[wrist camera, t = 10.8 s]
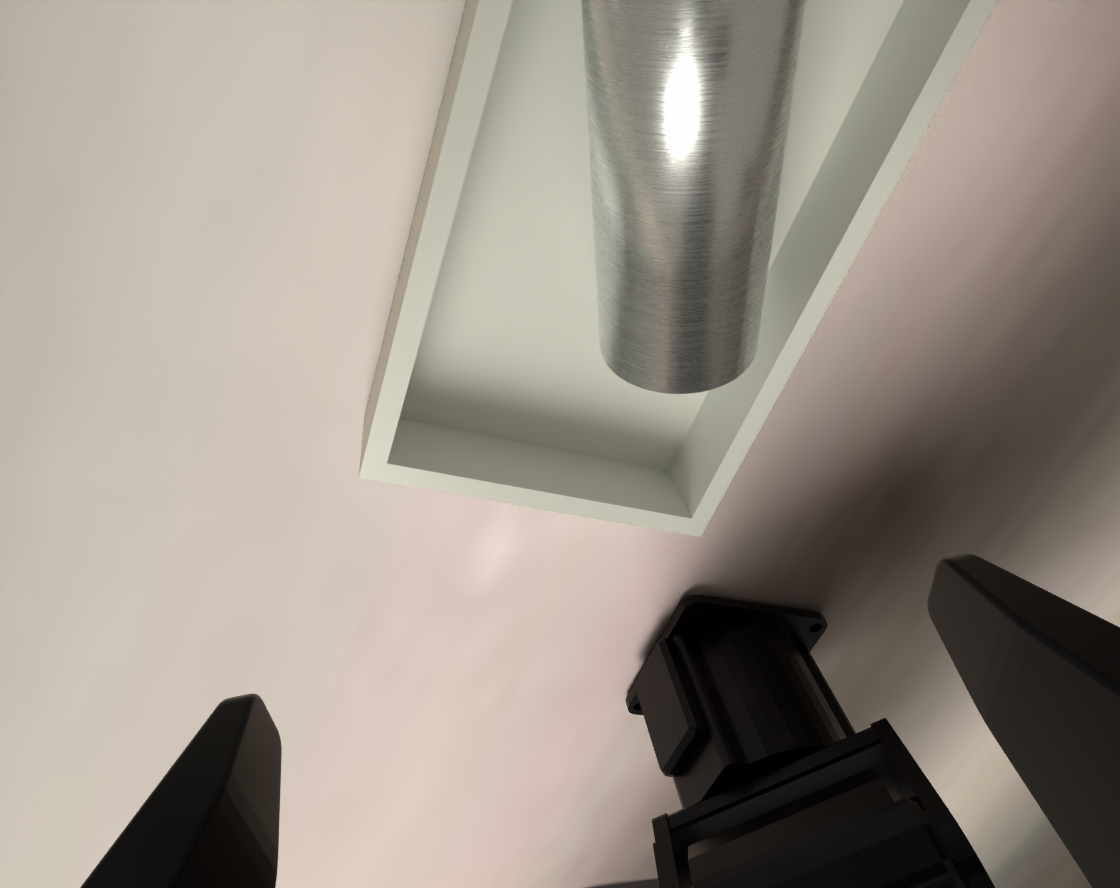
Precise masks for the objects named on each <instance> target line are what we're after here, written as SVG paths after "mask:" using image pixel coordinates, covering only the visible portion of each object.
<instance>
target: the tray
mask: <svg viewBox="0 0 1120 888" xmlns="http://www.w3.org/2000/svg"><path fill="white" fill-rule="evenodd" d="M997 2H998V0H807V1H806V8H805V15H804V22H803V29H802V36H801V43H800V50H799V57H798V64H797V71H796V78H795V85H794V92H793V99H792V106H791V113H790V120H789V127H788V134H787V141H786V148H785V155H784V162H783V169H782V176H781V183H780V190H779V197H778V204H777V211H776V218H775V225H774V232H773V239H772V246H771V253H770V260H769V267H768V274H767V281H766V288H765V295H764V302H763V309H762V316H761V323H760V330H759V337H758V344H757V350H756V355H755V357H754V360H753V362H752V363H751V365H750V366H749V367H748V368H747V370H746V371H745V372H744V373H743V374H741V375H740V376H739V377H738V378H736V379H734V380H733V381H731V382H729V383H727V384H725V385H723V386H721V387H718V388H715V389H712V390H708V391H704V392H699V393H691V394H666V393H659V392H654V391H650V390H646V389H643V388H640V387H637V386H635V385H632V384H630V383H628V382H626V381H625V380H623V379H621V378H620V377H619V376H617V375H616V374H615V373H614V372H613V371H612V370H611V369H610V368H609V367H608V366H607V364H606V363H605V361H604V360H603V357H602V355H601V351H600V343H599V324H598V305H597V287H596V268H595V249H594V231H593V212H592V193H591V175H590V156H589V137H588V119H587V100H586V81H585V62H584V44H583V25H582V6H581V0H466V4H465V9H464V13H463V17H462V21H461V25H460V29H459V33H458V37H457V41H456V45H455V49H454V53H453V57H452V62H451V66H450V70H449V74H448V78H447V82H446V86H445V90H444V94H443V98H442V102H441V106H440V111H439V115H438V119H437V123H436V127H435V131H434V135H433V139H432V143H431V147H430V151H429V155H428V159H427V164H426V168H425V172H424V176H423V180H422V184H421V188H420V192H419V196H418V200H417V204H416V208H415V213H414V217H413V221H412V225H411V229H410V233H409V237H408V241H407V245H406V249H405V253H404V257H403V262H402V266H401V270H400V274H399V278H398V282H397V286H396V290H395V294H394V298H393V302H392V306H391V310H390V315H389V319H388V323H387V327H386V331H385V335H384V339H383V343H382V347H381V351H380V355H379V359H378V364H377V368H376V372H375V376H374V380H373V384H372V388H371V392H370V396H369V400H368V404H367V408H366V412H365V417H364V425H363V436H362V447H361V458H360V469H359V478H362V479H368V480H374V481H380V482H385V483H391V484H397V485H403V486H409V487H414V488H420V489H426V490H432V491H437V492H443V493H449V494H455V495H461V496H466V497H472V498H478V499H484V500H490V501H495V502H501V503H507V504H513V505H518V506H524V507H530V508H536V509H542V510H547V511H553V512H559V513H565V514H570V515H576V516H582V517H588V518H594V519H599V520H605V521H611V522H617V523H623V524H628V525H634V526H640V527H646V528H651V529H657V530H663V531H669V532H675V533H680V534H686V535H692V536H698V537H701V535H702V534H703V532H704V530H705V528H706V526H707V525H708V523H709V521H710V519H711V517H712V516H713V514H714V512H715V510H716V508H717V507H718V505H719V503H720V501H721V499H722V498H723V496H724V494H725V492H726V490H727V488H728V487H729V485H730V483H731V481H732V479H733V478H734V476H735V474H736V472H737V470H738V469H739V467H740V465H741V463H742V461H743V460H744V458H745V456H746V454H747V452H748V451H749V449H750V447H751V445H752V443H753V442H754V440H755V438H756V436H757V434H758V433H759V431H760V429H761V427H762V425H763V424H764V422H765V420H766V418H767V416H768V415H769V413H770V411H771V409H772V407H773V406H774V404H775V402H776V400H777V398H778V397H779V395H780V393H781V391H782V389H783V387H784V386H785V384H786V382H787V380H788V378H789V377H790V375H791V373H792V371H793V369H794V368H795V366H796V364H797V362H798V360H799V359H800V357H801V355H802V353H803V351H804V350H805V348H806V346H807V344H808V342H809V341H810V339H811V337H812V335H813V333H814V332H815V330H816V328H817V326H818V324H819V323H820V321H821V319H822V317H823V315H824V314H825V312H826V310H827V308H828V306H829V305H830V303H831V301H832V299H833V297H834V296H835V294H836V292H837V290H838V288H839V287H840V285H841V283H842V281H843V279H844V277H845V276H846V274H847V272H848V270H849V268H850V267H851V265H852V263H853V261H854V259H855V258H856V256H857V254H858V252H859V250H860V249H861V247H862V245H863V243H864V241H865V240H866V238H867V236H868V234H869V232H870V231H871V229H872V227H873V225H874V223H875V222H876V220H877V218H878V216H879V214H880V213H881V211H882V209H883V207H884V205H885V204H886V202H887V200H888V198H889V196H890V195H891V193H892V191H893V189H894V187H895V186H896V184H897V182H898V180H899V178H900V176H901V175H902V173H903V171H904V169H905V167H906V166H907V164H908V162H909V160H910V158H911V157H912V155H913V153H914V151H915V149H916V148H917V146H918V144H919V142H920V140H921V139H922V137H923V135H924V133H925V131H926V130H927V128H928V126H929V124H930V122H931V121H932V119H933V117H934V115H935V113H936V112H937V110H938V108H939V106H940V104H941V103H942V101H943V99H944V97H945V95H946V94H947V92H948V90H949V88H950V86H951V85H952V83H953V81H954V79H955V77H956V76H957V74H958V72H959V70H960V68H961V66H962V65H963V63H964V61H965V59H966V57H967V56H968V54H969V52H970V50H971V48H972V47H973V45H974V43H975V41H976V39H977V38H978V36H979V34H980V32H981V30H982V29H983V27H984V25H985V23H986V21H987V20H988V18H989V16H990V14H991V12H992V11H993V9H994V7H995V5H996V3H997Z"/></svg>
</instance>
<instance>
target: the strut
mask: <svg viewBox="0 0 1120 888" xmlns="http://www.w3.org/2000/svg"><path fill="white" fill-rule="evenodd" d="M806 1H807V0H581V6H582V25H583V44H584V62H585V81H586V100H587V119H588V137H589V156H590V175H591V193H592V212H593V231H594V249H595V268H596V287H597V305H598V324H599V343H600V351H601V355H602V357H603V360H604V361H605V363H606V364H607V366H608V367H609V368H610V369H611V370H612V371H613V372H614V373H615V374H616V375H617V376H619V377H620V378H621V379H623V380H625V381H626V382H628V383H630V384H632V385H635V386H637V387H640V388H643V389H646V390H650V391H654V392H659V393H666V394H691V393H699V392H704V391H708V390H712V389H715V388H718V387H721V386H723V385H725V384H727V383H729V382H731V381H733V380H734V379H736V378H738V377H739V376H740V375H741V374H743V373H744V372H745V371H746V370H747V368H748V367H749V366H750V365H751V363H752V362H753V360H754V357H755V355H756V350H757V344H758V337H759V330H760V323H761V316H762V309H763V302H764V295H765V288H766V281H767V274H768V267H769V260H770V253H771V246H772V239H773V232H774V225H775V218H776V211H777V204H778V197H779V190H780V183H781V176H782V169H783V162H784V155H785V148H786V141H787V134H788V127H789V120H790V113H791V106H792V99H793V92H794V85H795V78H796V71H797V64H798V57H799V50H800V43H801V36H802V29H803V22H804V15H805V8H806Z"/></svg>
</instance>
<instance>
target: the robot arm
mask: <svg viewBox="0 0 1120 888" xmlns="http://www.w3.org/2000/svg"><path fill="white" fill-rule="evenodd" d="M694 607H695V608H694ZM692 608H693V609H692ZM928 612H929V615H930V618H931V620H932V622H933V624H934V626H935V628H936V630H937V632H938V634H939V636H940V638H941V639H942V641H943V643H944V645H945V647H946V649H947V651H948V653H949V655H950V657H951V659H952V661H953V663H954V665H955V667H956V668H957V670H958V672H959V674H960V676H961V678H962V680H963V682H964V684H965V686H966V688H967V690H968V692H969V694H970V696H971V698H972V699H973V701H974V703H975V705H976V707H977V709H978V711H979V712H980V714H981V716H982V718H983V720H984V721H985V723H986V724H987V726H988V728H989V729H990V731H991V732H992V734H993V736H994V737H995V739H996V740H997V742H998V743H999V745H1000V746H1001V748H1002V749H1003V751H1004V753H1005V754H1006V756H1007V757H1008V759H1009V760H1010V762H1011V763H1012V765H1013V766H1014V768H1015V769H1016V771H1017V772H1018V774H1019V776H1020V777H1021V779H1022V780H1023V782H1024V783H1025V785H1026V786H1027V788H1028V789H1029V791H1030V792H1031V794H1032V795H1033V797H1034V798H1035V800H1036V802H1037V803H1038V805H1039V806H1040V808H1041V809H1042V811H1043V812H1044V814H1045V815H1046V817H1047V818H1048V820H1049V821H1050V823H1051V825H1052V826H1053V828H1054V829H1055V831H1056V832H1057V834H1058V835H1059V837H1060V838H1061V840H1062V841H1063V843H1064V844H1065V846H1066V848H1067V849H1068V851H1069V852H1070V854H1071V855H1072V857H1073V858H1074V860H1075V861H1076V863H1077V864H1078V866H1079V867H1080V869H1081V870H1082V872H1083V874H1084V875H1085V877H1086V878H1087V880H1088V881H1089V883H1090V884H1091V886H1092V887H1093V888H1120V627H1118V626H1116V625H1114V624H1112V623H1110V622H1108V621H1106V620H1104V619H1102V618H1100V617H1098V616H1096V615H1094V614H1092V613H1090V612H1088V611H1086V610H1084V609H1082V608H1080V607H1078V606H1076V605H1074V604H1072V603H1070V602H1068V601H1066V600H1064V599H1062V598H1060V597H1058V596H1056V595H1054V594H1052V593H1050V592H1048V591H1046V590H1044V589H1042V588H1040V587H1038V586H1036V585H1034V584H1032V583H1030V582H1028V581H1026V580H1024V579H1022V578H1020V577H1018V576H1016V575H1014V574H1012V573H1010V572H1008V571H1006V570H1004V569H1002V568H1000V567H998V566H996V565H994V564H992V563H990V562H988V561H986V560H984V559H982V558H980V557H978V556H976V555H973V554H961V555H956V556H951V557H946V558H943V559H941V560H940V561H939V562H938V563H937V565H936V568H935V572H934V576H933V580H932V584H931V588H930V592H929V596H928ZM826 628H827V622H826V620H825V619H824V617H823V615H822V614H821V613H819V612H815V611H808V610H801V609H794V608H787V607H780V606H773V605H766V604H759V603H752V602H745V601H738V600H732V599H725V598H718V597H711V596H704V595H690V596H687V597H686V598H684V599H683V600H682V601H681V602H680V604H679V606H678V608H677V609H676V611H675V613H674V615H673V617H672V618H671V620H670V622H669V624H668V625H667V627H666V629H665V631H664V632H663V634H662V636H661V638H660V639H659V641H658V642H657V644H656V645H655V647H654V649H653V651H652V652H651V654H650V656H649V658H648V660H647V661H646V663H645V665H644V667H643V668H642V670H641V672H640V674H639V675H638V677H637V679H636V681H635V683H634V685H633V687H632V689H631V690H630V692H629V694H628V696H627V697H626V704H627V707H628V711H629V712H630V713H632V714H637V715H644V718H645V721H646V724H647V728H648V731H649V734H650V737H651V741H652V744H653V747H654V750H655V754H656V757H657V760H658V763H659V767H660V769H661V771H662V772H663V774H664V775H665V776H668V777H673V780H674V783H675V786H676V789H677V792H678V795H679V799H680V802H681V805H682V808H683V809H681V810H679V811H677V812H674V813H672V814H670V815H668V814H667V813H665V814H663V815H660V816H658V817H656V818H653V819H652V824H653V830H654V836H655V843H653V848H654V854H655V860H656V867H657V873H658V879H659V885H660V888H995V887H994V885H993V883H992V881H991V879H990V877H989V876H988V874H987V872H986V870H985V868H984V867H983V865H982V863H981V861H980V860H979V858H978V856H977V854H976V853H975V851H974V849H973V848H972V846H971V844H970V843H969V841H968V839H967V838H966V836H965V834H964V833H963V831H962V830H961V828H960V827H959V825H958V823H957V822H956V820H955V819H954V817H953V816H952V814H951V813H950V811H949V810H948V808H947V807H946V805H945V804H944V802H943V801H942V799H941V798H940V796H939V795H938V794H937V792H936V791H935V789H934V788H933V786H932V785H931V783H930V782H929V780H928V779H927V778H926V776H925V775H924V773H923V772H922V770H921V769H920V767H919V766H918V764H917V763H916V761H915V760H914V759H913V757H912V756H911V754H910V753H909V751H908V750H907V748H906V747H905V745H904V744H903V743H902V741H901V740H900V738H899V737H898V735H897V734H896V732H895V731H894V729H893V728H892V727H891V725H890V724H889V722H888V721H887V719H886V718H883V719H881V720H879V721H876V722H874V723H872V724H871V727H870V728H868V729H865V730H863V731H861V732H858V733H855V731H854V729H853V727H852V726H851V724H850V722H849V720H848V719H847V717H846V715H845V713H844V712H843V710H842V708H841V706H840V705H839V703H838V701H837V699H836V698H835V696H834V694H833V692H832V691H831V689H830V687H829V685H828V684H827V682H826V680H825V678H824V677H823V675H822V673H821V671H820V670H819V668H818V666H817V664H816V663H815V661H814V659H813V657H812V656H811V654H810V651H811V649H812V648H813V647H814V645H815V644H816V642H817V641H818V640H819V638H820V637H821V635H822V634H823V633H824V631H825V630H826ZM280 782H281V740H280V735H279V732H278V730H277V728H276V726H275V724H274V722H273V720H272V718H271V716H270V714H269V712H268V710H267V708H266V706H265V704H264V702H263V700H262V699H261V697H260V696H258V695H257V694H247V695H242V696H237V697H232V698H228V699H225V700H223V701H222V702H221V703H220V704H219V705H218V706H217V707H216V709H215V710H214V711H213V713H212V714H211V715H210V717H209V718H208V719H207V721H206V722H205V723H204V725H203V726H202V727H201V729H200V730H199V731H198V733H197V734H196V735H195V737H194V738H193V739H192V740H191V742H190V743H189V744H188V746H187V747H186V748H185V750H184V751H183V752H182V754H181V755H180V756H179V758H178V759H177V760H176V762H175V763H174V764H173V766H172V767H171V768H170V770H169V771H168V772H167V774H166V775H165V776H164V778H163V779H162V780H161V782H160V783H159V784H158V786H157V787H156V788H155V790H154V791H153V792H152V793H151V795H150V796H149V797H148V799H147V800H146V801H145V803H144V804H143V805H142V807H141V808H140V809H139V811H138V812H137V813H136V815H135V816H134V817H133V819H132V820H131V821H130V823H129V824H128V825H127V827H126V828H125V829H124V831H123V832H122V833H121V835H120V836H119V837H118V839H117V840H116V841H115V842H114V844H113V845H112V846H111V848H110V849H109V850H108V852H107V853H106V854H105V856H104V857H103V858H102V860H101V861H100V862H99V864H98V865H97V866H96V868H95V869H94V870H93V872H92V873H91V874H90V876H89V877H88V878H87V880H86V881H85V882H84V884H83V885H82V886H81V888H275V886H276V878H277V865H278V843H279V812H280Z"/></svg>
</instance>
